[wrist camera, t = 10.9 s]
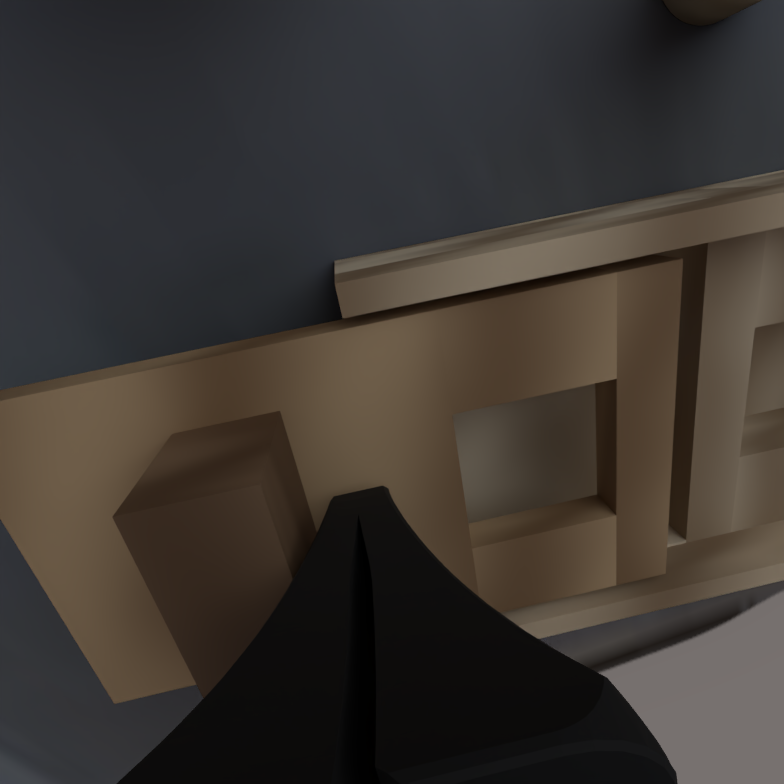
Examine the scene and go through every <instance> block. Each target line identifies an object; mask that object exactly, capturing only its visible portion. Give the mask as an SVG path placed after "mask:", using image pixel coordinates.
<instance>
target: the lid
mask: <svg viewBox="0 0 784 784" xmlns="http://www.w3.org/2000/svg"><path fill="white" fill-rule="evenodd" d="M682 269H683V259H682V258H675V257H668V256H660V255H649V256H645V257H640V258H635V259H630V260H625V261H621V262H616V263H611V264H606V265H601V266H596V267H592V268H587V269H582V270H577V271H572V272H568V273H563V274H558V275H553V276H548V277H543V278H539V279H534V280H529V281H524V282H519V283H515V284H510V285H505V286H500V287H495V288H490V289H486V290H481V291H476V292H471V293H466V294H462V295H457V296H452V297H447V298H442V299H437V300H433V301H428V302H423V303H418V304H413V305H409V306H404V307H399V308H394V309H389V310H384V311H380V312H375V313H370V314H365V315H360V316H356V317H351V318H346V319H341V320H336V321H331V322H327V323H322V324H317V325H312V326H307V327H303V328H298V329H293V330H288V331H283V332H278V333H274V334H269V335H264V336H259V337H254V338H250V339H245V340H240V341H235V342H230V343H225V344H221V345H216V346H211V347H206V348H201V349H197V350H192V351H187V352H182V353H177V354H172V355H168V356H163V357H158V358H153V359H148V360H144V361H139V362H134V363H129V364H124V365H119V366H115V367H110V368H105V369H100V370H95V371H91V372H86V373H81V374H76V375H71V376H66V377H62V378H57V379H52V380H47V381H42V382H38V383H33V384H28V385H23V386H18V387H13V388H9V389H4V390H0V519H1V521H2V522H3V524H4V526H5V527H6V529H7V530H8V532H9V534H10V535H11V537H12V539H13V540H14V542H15V543H16V545H17V547H18V548H19V550H20V552H21V553H22V555H23V556H24V558H25V560H26V561H27V563H28V564H29V566H30V568H31V569H32V571H33V573H34V574H35V576H36V577H37V579H38V581H39V582H40V584H41V586H42V587H43V589H44V590H45V592H46V594H47V595H48V597H49V599H50V600H51V602H52V603H53V605H54V607H55V608H56V610H57V612H58V613H59V615H60V616H61V618H62V620H63V621H64V623H65V624H66V626H67V628H68V629H69V631H70V633H71V634H72V636H73V637H74V639H75V641H76V642H77V644H78V646H79V647H80V649H81V650H82V652H83V654H84V655H85V657H86V659H87V660H88V662H89V663H90V665H91V667H92V668H93V670H94V672H95V673H96V675H97V676H98V678H99V680H100V681H101V683H102V684H103V686H104V688H105V689H106V691H107V693H108V694H109V696H110V697H111V699H112V701H113V702H114V704H116V703H120V702H124V701H129V700H133V699H137V698H141V697H146V696H150V695H154V694H158V693H163V692H167V691H171V690H175V689H180V688H184V687H188V686H192V685H197V687H198V689H199V691H200V693H201V694H202V696H203V698H205V697H206V695H207V694H208V693H209V692H210V691H211V690H212V689H213V688H214V687H215V686H216V684H217V683H218V682H219V681H220V680H221V679H222V678H223V677H224V675H225V674H226V673H227V672H228V670H229V669H230V668H231V667H232V665H233V664H234V663H235V662H236V661H237V659H238V658H239V657H240V656H241V654H242V653H243V652H244V651H245V649H246V648H247V647H248V646H249V644H250V643H251V642H252V640H253V639H254V638H255V637H256V635H257V634H258V632H259V631H260V630H261V628H262V627H263V625H264V624H265V623H266V621H267V620H268V618H269V617H270V615H271V614H272V612H273V611H274V609H275V608H276V606H277V605H278V603H279V602H280V600H281V599H282V597H283V595H284V594H285V592H286V590H287V589H288V587H289V585H290V583H291V582H292V580H293V578H294V577H295V575H296V573H297V571H298V570H299V568H300V566H301V564H302V562H303V560H304V559H305V557H306V555H307V553H308V551H309V549H310V547H311V545H312V542H313V540H314V538H315V536H316V534H317V532H318V530H319V528H320V525H321V523H322V521H323V518H324V516H325V514H326V511H327V508H328V506H329V503H330V501H331V500H332V498H333V497H334V496H338V495H342V494H347V493H351V492H356V491H360V490H365V489H369V488H374V487H378V486H385V487H387V488H388V489H389V492H390V494H391V497H392V499H393V501H394V503H395V504H396V506H397V508H398V509H399V511H400V512H401V514H402V516H403V517H404V519H405V520H406V521H407V523H408V524H409V525H410V527H411V528H412V529H413V530H414V532H415V533H416V534H417V536H418V537H419V538H420V539H421V541H422V542H423V543H424V544H425V545H426V546H427V548H428V549H429V550H430V551H431V552H432V553H433V554H434V555H435V556H436V557H437V558H438V560H439V561H440V562H441V563H442V564H443V565H444V566H445V567H446V568H447V569H448V570H449V571H450V572H451V573H452V574H453V575H455V576H456V577H457V578H458V579H459V580H460V581H461V582H462V583H463V584H465V585H466V586H467V587H468V588H469V589H470V590H471V591H473V592H474V593H475V594H476V595H478V596H479V597H480V598H481V599H482V600H484V601H485V602H486V603H487V604H489V605H490V606H491V607H493V608H494V609H496V610H497V611H498V612H500V613H501V612H506V611H510V610H514V609H518V608H523V607H527V606H531V605H535V604H539V603H544V602H548V601H552V600H556V599H561V598H565V597H569V596H573V595H578V594H582V593H586V592H590V591H595V590H599V589H603V588H607V587H611V586H616V585H620V584H624V583H628V582H633V581H637V580H641V579H645V578H650V577H654V576H658V575H662V574H666V560H667V542H668V524H669V506H670V487H671V469H672V451H673V433H674V415H675V396H676V378H677V360H678V342H679V324H680V305H681V287H682ZM590 384H595V403H596V463H597V495H592V496H588V497H584V498H579V499H575V500H570V501H566V502H562V503H557V504H553V505H548V506H544V507H540V508H535V509H531V510H527V511H522V512H518V513H513V514H509V515H505V516H500V517H496V518H491V519H487V520H483V521H478V522H474V523H469V524H468V517H467V511H466V504H465V497H464V490H463V483H462V477H461V470H460V463H459V456H458V449H457V443H456V436H455V429H454V422H453V415H452V414H457V413H462V412H466V411H471V410H475V409H480V408H485V407H489V406H494V405H498V404H503V403H508V402H512V401H517V400H521V399H526V398H531V397H535V396H540V395H544V394H549V393H553V392H558V391H563V390H567V389H572V388H576V387H581V386H586V385H590Z"/></svg>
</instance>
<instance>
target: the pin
mask: <svg viewBox="0 0 784 784" xmlns="http://www.w3.org/2000/svg"><path fill="white" fill-rule="evenodd" d="M760 1H762V0H663V2H664V3H665V5H666V7H667V8H668V9H669V11H670V12H671V13H672V14H673V15H674V16H675V17H677V18H678V19H679V20H681V21H683V22H685V23H688V24H691V25H699V26H701V25H709V24H713V23H716V22H718V21H721V20H723V19H725V18H727V17H729V16H731V15H733V14H735V13H737V12H739V11H741V10H743V9H745V8H747V7H749V6H751V5H753V4H755V3H757V2H760Z"/></svg>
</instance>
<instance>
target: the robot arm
mask: <svg viewBox="0 0 784 784" xmlns="http://www.w3.org/2000/svg"><path fill="white" fill-rule="evenodd" d="M117 784H677V776H676V772H675V770H674V769H673V767H672V766H671V764H670V762H669V760H668V758H667V756H666V754H665V753H664V751H663V750H662V748H661V746H660V745H659V743H658V742H657V740H656V739H655V737H654V736H653V735H652V733H651V732H650V731H649V729H648V728H647V726H646V725H645V724H644V722H643V721H642V720H641V718H640V717H639V716H638V715H637V713H636V712H635V711H634V709H632V707H631V706H630V704H629V703H628V702H627V701H626V699H625V698H624V697H623V696H622V695H621V694H620V692H619V691H618V690H617V689H616V688H615V686H614V685H613V684H612V683H611V682H610V681H609V680H608V678H606V677H605V676H603V675H601V674H599V673H597V672H595V671H593V670H591V669H590V668H588V667H586V666H584V665H582V664H580V663H578V662H576V661H575V660H573V659H571V658H569V657H567V656H566V655H564V654H562V653H560V652H559V651H557V650H555V649H553V648H552V647H550V646H549V645H547V644H545V643H544V642H542V641H541V640H539V639H537V638H536V637H534V636H533V635H531V634H530V633H528V632H526V631H525V630H523V629H522V628H521V627H519V626H518V625H516V624H515V623H514V622H512V621H511V620H509V619H508V618H507V617H505V616H504V615H503V614H501V613H500V612H498V611H497V610H496V609H494V608H493V607H491V606H490V605H489V604H487V603H486V602H485V601H484V600H482V599H481V598H480V597H479V596H478V595H476V594H475V593H474V592H473V591H471V590H470V589H469V588H468V587H467V586H466V585H465V584H463V583H462V582H461V581H460V580H459V579H458V578H457V577H456V576H455V575H453V574H452V573H451V572H450V571H449V570H448V569H447V568H446V567H445V566H444V565H443V564H442V563H441V562H440V561H439V560H438V558H437V557H436V556H435V555H434V554H433V553H432V552H431V551H430V550H429V549H428V548H427V546H426V545H425V544H424V543H423V542H422V541H421V539H420V538H419V537H418V536H417V534H416V533H415V532H414V530H413V529H412V528H411V527H410V525H409V524H408V523H407V521H406V520H405V519H404V517H403V516H402V514H401V512H400V511H399V509H398V508H397V506H396V504H395V503H394V501H393V499H392V497H391V494H390V492H389V489H388V488H387V487H385V486H378V487H374V488H369V489H365V490H360V491H356V492H351V493H347V494H342V495H338V496H334V497H333V498H332V500H331V501H330V503H329V506H328V508H327V511H326V514H325V516H324V518H323V521H322V523H321V525H320V528H319V530H318V532H317V534H316V536H315V538H314V540H313V542H312V545H311V547H310V549H309V551H308V553H307V555H306V557H305V559H304V560H303V562H302V564H301V566H300V568H299V570H298V571H297V573H296V575H295V577H294V578H293V580H292V582H291V583H290V585H289V587H288V589H287V590H286V592H285V594H284V595H283V597H282V599H281V600H280V602H279V603H278V605H277V606H276V608H275V609H274V611H273V612H272V614H271V615H270V617H269V618H268V620H267V621H266V623H265V624H264V625H263V627H262V628H261V630H260V631H259V632H258V634H257V635H256V637H255V638H254V639H253V640H252V642H251V643H250V644H249V646H248V647H247V648H246V649H245V651H244V652H243V653H242V654H241V656H240V657H239V658H238V659H237V661H236V662H235V663H234V664H233V665H232V667H231V668H230V669H229V670H228V672H227V673H226V674H225V675H224V677H223V678H222V679H221V680H220V681H219V682H218V683H217V684H216V686H215V687H214V688H213V689H212V690H211V691H210V692H209V693H208V694H207V695H206V697H205V698H204V699H203V700H202V701H201V702H200V703H199V704H198V705H197V706H196V707H195V708H194V709H193V710H192V711H191V713H190V714H189V715H188V716H187V717H186V718H185V719H184V720H183V721H182V722H181V723H180V724H179V725H178V726H177V727H176V728H175V729H174V730H173V731H172V732H171V733H170V734H169V735H168V736H167V737H166V738H165V739H164V740H163V741H162V742H161V743H160V744H159V745H158V746H157V747H156V748H154V749H153V750H152V751H151V752H150V753H149V754H148V755H147V756H146V757H145V758H144V759H143V760H142V761H141V762H139V763H138V764H137V765H136V766H135V767H134V768H133V769H132V770H131V771H130V772H129V773H128V774H127V775H126V776H124V777H123V778H122V779H121V780H120V781H119V782H118V783H117Z"/></svg>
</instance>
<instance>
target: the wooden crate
mask: <svg viewBox="0 0 784 784" xmlns="http://www.w3.org/2000/svg"><path fill="white" fill-rule="evenodd" d="M649 255H660V256H668V257H675V258H682V259H683V269H682V287H681V305H680V324H679V342H678V360H677V378H676V396H675V415H674V433H673V451H672V469H671V487H670V506H669V524H668V542H667V560H666V574H662V575H658V576H654V577H650V578H645V579H641V580H637V581H633V582H628V583H624V584H620V585H616V586H611V587H607V588H603V589H599V590H595V591H590V592H586V593H582V594H578V595H573V596H569V597H565V598H561V599H556V600H552V601H548V602H544V603H539V604H535V605H531V606H527V607H523V608H518V609H514V610H510V611H506V612H501V614H503V615H504V616H505V617H507V618H508V619H509V620H511V621H512V622H514V623H515V624H516V625H518V626H519V627H521V628H522V629H523V630H525V631H526V632H528V633H530V634H531V635H533V636H534V637H536V638H537V639H540V638H544V637H548V636H552V635H557V634H561V633H565V632H569V631H573V630H577V629H582V628H586V627H590V626H594V625H598V624H603V623H607V622H611V621H615V620H619V619H623V618H628V617H632V616H636V615H640V614H644V613H649V612H653V611H657V610H661V609H665V608H669V607H674V606H678V605H682V604H686V603H690V602H695V601H699V600H703V599H707V598H711V597H715V596H720V595H724V594H728V593H732V592H736V591H740V590H745V589H749V588H753V587H757V586H761V585H766V584H770V583H774V582H778V581H782V580H784V170H781V171H776V172H771V173H766V174H761V175H756V176H751V177H746V178H741V179H736V180H731V181H726V182H721V183H716V184H712V185H707V186H702V187H697V188H692V189H687V190H682V191H677V192H672V193H667V194H662V195H657V196H652V197H647V198H642V199H637V200H632V201H628V202H623V203H618V204H613V205H608V206H603V207H598V208H593V209H588V210H583V211H578V212H573V213H568V214H563V215H558V216H553V217H548V218H544V219H539V220H534V221H529V222H524V223H519V224H514V225H509V226H504V227H499V228H494V229H489V230H484V231H479V232H474V233H469V234H464V235H459V236H455V237H450V238H445V239H440V240H435V241H430V242H425V243H420V244H415V245H410V246H405V247H400V248H395V249H390V250H385V251H380V252H375V253H371V254H366V255H361V256H356V257H351V258H346V259H341V260H336V261H335V287H336V292H337V296H338V300H339V305H340V309H341V314H342V318H345V319H346V318H351V317H356V316H360V315H365V314H370V313H375V312H380V311H384V310H389V309H394V308H399V307H404V306H409V305H413V304H418V303H423V302H428V301H433V300H437V299H442V298H447V297H452V296H457V295H462V294H466V293H471V292H476V291H481V290H486V289H490V288H495V287H500V286H505V285H510V284H515V283H519V282H524V281H529V280H534V279H539V278H543V277H548V276H553V275H558V274H563V273H568V272H572V271H577V270H582V269H587V268H592V267H596V266H601V265H606V264H611V263H616V262H621V261H625V260H630V259H635V258H640V257H645V256H649ZM452 415H453V422H454V429H455V436H456V443H457V449H458V456H459V463H460V470H461V477H462V483H463V490H464V497H465V504H466V511H467V517H468V524H469V523H474V522H478V521H483V520H487V519H491V518H496V517H500V516H505V515H509V514H513V513H518V512H522V511H527V510H531V509H535V508H540V507H544V506H548V505H553V504H557V503H562V502H566V501H570V500H575V499H579V498H584V497H588V496H592V495H597V463H596V403H595V384H590V385H586V386H581V387H576V388H572V389H567V390H563V391H558V392H553V393H549V394H544V395H540V396H535V397H531V398H526V399H521V400H517V401H512V402H508V403H503V404H498V405H494V406H489V407H485V408H480V409H475V410H471V411H466V412H462V413H457V414H452Z"/></svg>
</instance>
